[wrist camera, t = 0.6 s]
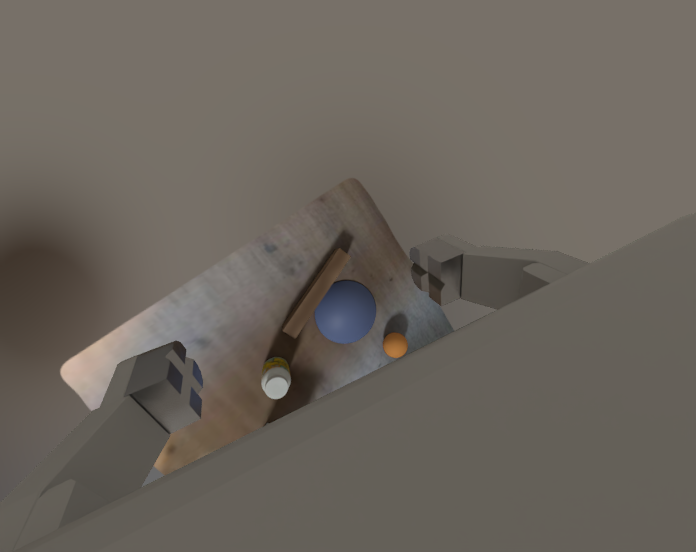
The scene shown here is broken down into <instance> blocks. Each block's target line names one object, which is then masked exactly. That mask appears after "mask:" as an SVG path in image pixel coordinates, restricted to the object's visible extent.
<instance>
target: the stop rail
mask: <svg viewBox="0 0 696 552" xmlns="http://www.w3.org/2000/svg"><path fill="white" fill-rule="evenodd" d="M350 257H351V256H350V255H348V254H347V253H346V252H344V251H343V250H341V249H340V248H338V249H335V250H334V252H333V253H332V255H331V256H330V257H329V259H328V260H327V262H326V263H325V265H324V266H323V268H322V269H321V271H320V272H319V273H318V275H317V276H316V278H315V279H314V281H313V282H312V284H311V285H310V287H309V288H308V289H307V291H306V292H305V294H304V295H303V297H302V298H301V300H300V301H299V303H298V304H297V305H296V307H295V308H294V310H293V311H292V313H291V314H290V316H289V317H288V319H287V320H286V321H285V323H284V324H283V326H282V330H283V332H285V333H287V334H288V335H290V336H292V337H293V338H295V339H296V337H297V336H298V334H299V333H300V331H301V330H302V328H303V327H304V325H305V324H306V322H307V321H308V319H309V318H310V316H311V315H312V314H313V312H314V311H315V309H316V308H317V306H318V305H319V303H320V302H321V300H322V299H323V297H324V296H325V294H326V293H327V291H328V290H329V288H330V287H331V285H332V284H333V282H334V281H335V280H336V278H337V277H338V275H339V274H340V272H341V271H342V269H343V268H344V266H345V265H346V263H347V262H348V260H349V259H350Z"/></svg>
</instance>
